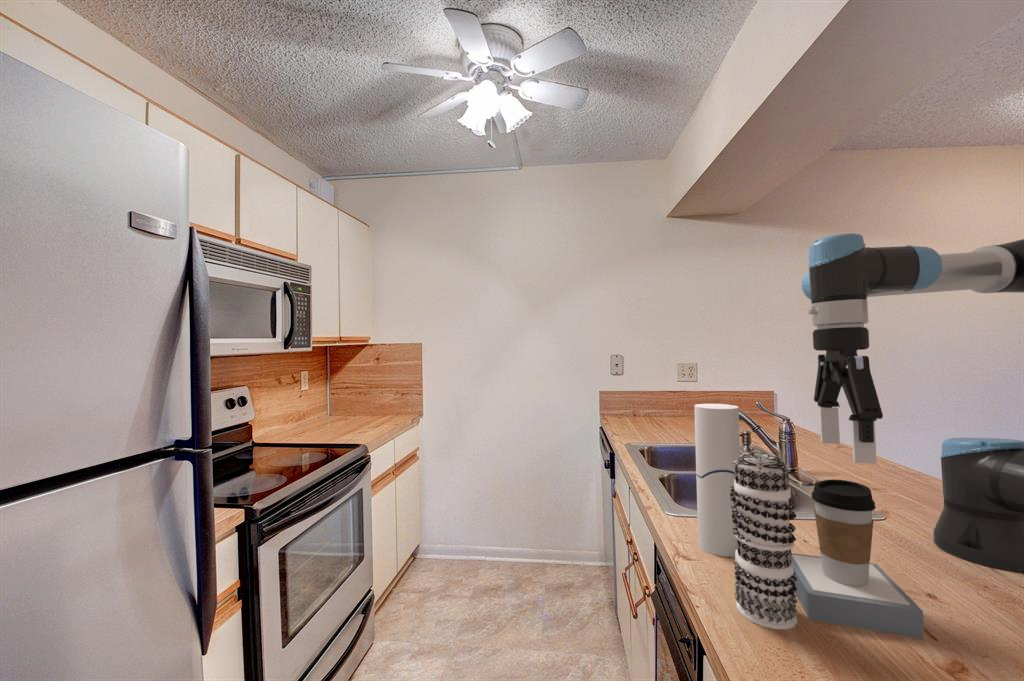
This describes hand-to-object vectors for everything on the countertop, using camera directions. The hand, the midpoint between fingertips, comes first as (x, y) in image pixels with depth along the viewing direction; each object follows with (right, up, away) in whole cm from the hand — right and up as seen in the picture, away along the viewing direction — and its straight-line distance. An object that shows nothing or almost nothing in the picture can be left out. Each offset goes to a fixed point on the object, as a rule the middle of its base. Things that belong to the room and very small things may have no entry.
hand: (846, 452), depth 71 cm
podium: (-1, -25, -2) cm, 25 cm away
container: (-12, -25, +18) cm, 34 cm away
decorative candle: (-16, -25, -4) cm, 30 cm away
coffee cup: (-1, -20, -2) cm, 21 cm away
